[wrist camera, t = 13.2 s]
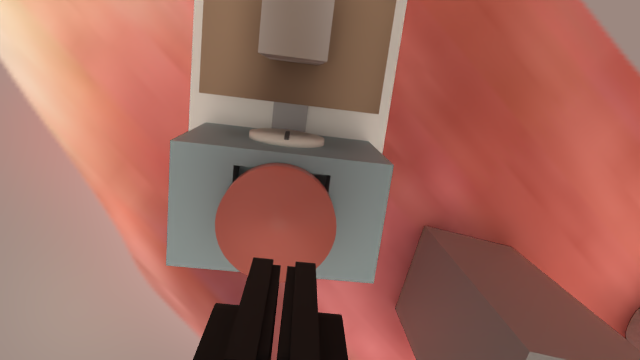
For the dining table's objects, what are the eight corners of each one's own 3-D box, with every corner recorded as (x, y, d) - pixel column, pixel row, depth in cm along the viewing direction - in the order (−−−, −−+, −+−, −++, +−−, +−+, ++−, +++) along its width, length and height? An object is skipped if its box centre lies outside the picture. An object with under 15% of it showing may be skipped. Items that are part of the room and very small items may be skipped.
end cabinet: (369, 134, 25) (395, 156, 18) (354, 230, 27) (373, 283, 20) (206, 115, 24) (170, 131, 18) (200, 215, 26) (166, 265, 19)
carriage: (388, -22, 22) (447, -86, 13) (368, 109, 24) (409, 129, 15) (219, -47, 21) (163, -132, 12) (211, 90, 23) (157, 99, 14)
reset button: (337, 161, 20) (344, 175, 17) (324, 258, 21) (328, 287, 18) (230, 149, 20) (218, 162, 17) (223, 249, 21) (211, 277, 18)
